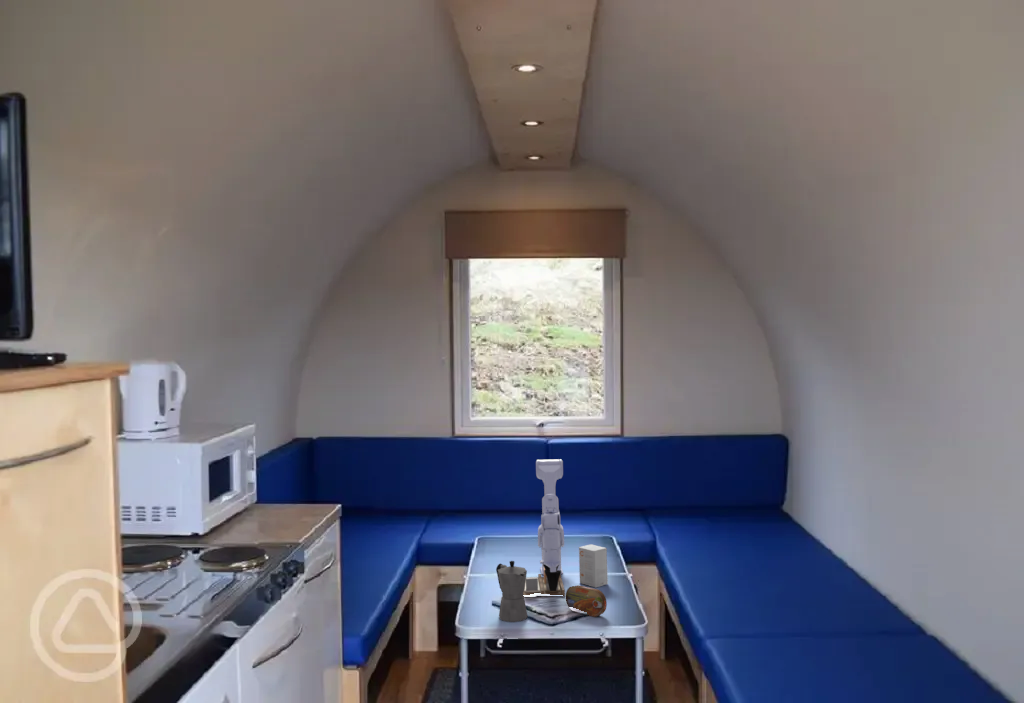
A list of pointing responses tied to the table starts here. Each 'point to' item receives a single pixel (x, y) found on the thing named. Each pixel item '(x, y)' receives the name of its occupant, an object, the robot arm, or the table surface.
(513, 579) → the coffeepot
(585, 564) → the small box
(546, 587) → the strip
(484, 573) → the table surface
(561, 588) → the lane board
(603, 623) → the table surface
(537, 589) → the strip
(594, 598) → the tin
